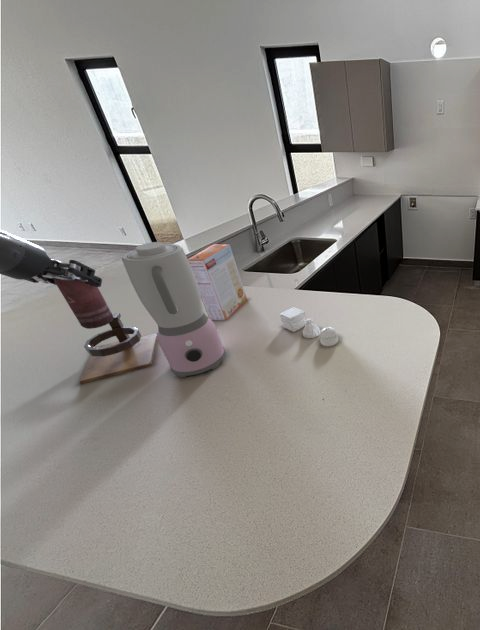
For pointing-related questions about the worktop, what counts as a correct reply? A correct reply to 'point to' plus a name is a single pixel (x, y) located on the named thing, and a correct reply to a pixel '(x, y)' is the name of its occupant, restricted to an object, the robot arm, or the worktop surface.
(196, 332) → the blender
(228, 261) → the cracker box
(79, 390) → the worktop surface
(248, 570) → the worktop surface
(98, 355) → the stand
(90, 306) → the can
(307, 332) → the container set
